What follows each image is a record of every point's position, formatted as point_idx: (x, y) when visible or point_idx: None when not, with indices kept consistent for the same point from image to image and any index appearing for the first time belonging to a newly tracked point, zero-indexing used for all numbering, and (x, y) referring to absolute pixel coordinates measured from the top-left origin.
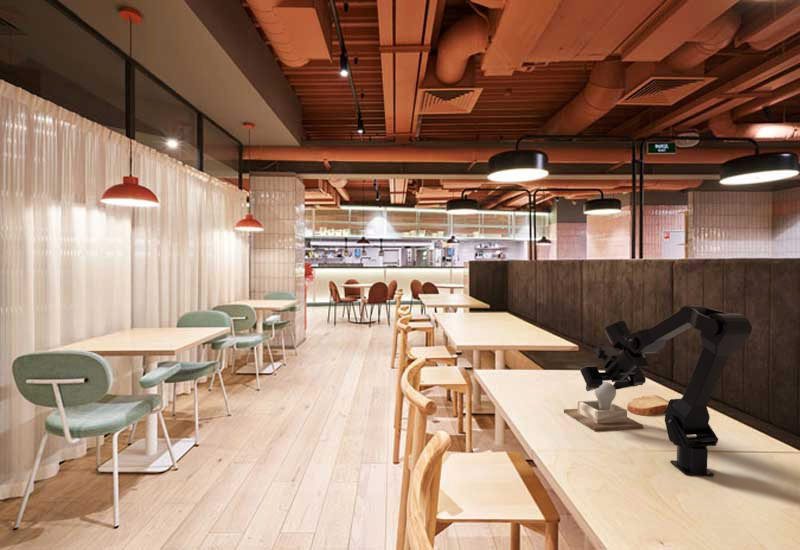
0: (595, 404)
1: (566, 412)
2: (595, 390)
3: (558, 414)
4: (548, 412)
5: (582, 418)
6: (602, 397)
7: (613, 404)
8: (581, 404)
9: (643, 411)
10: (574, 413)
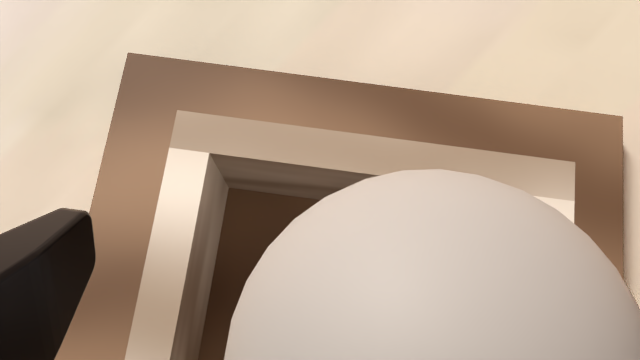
0: None
1: (122, 102)
2: (238, 304)
3: (50, 92)
4: (3, 25)
5: (102, 324)
6: None
7: None
8: (165, 189)
9: None
10: (140, 176)
